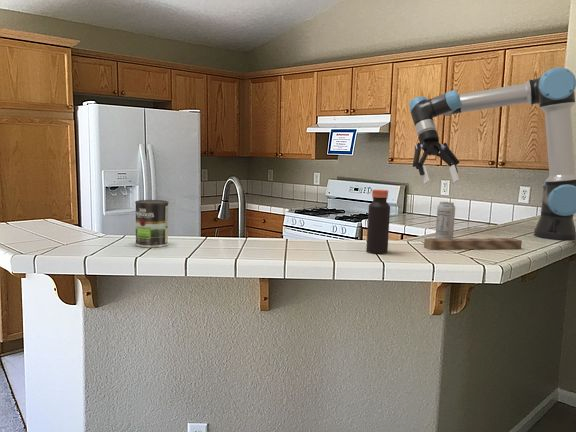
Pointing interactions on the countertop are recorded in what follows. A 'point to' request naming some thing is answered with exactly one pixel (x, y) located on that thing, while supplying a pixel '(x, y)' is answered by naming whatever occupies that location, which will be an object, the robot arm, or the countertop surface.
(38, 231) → the countertop surface
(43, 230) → the countertop surface
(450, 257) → the countertop surface
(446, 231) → the energy drink can
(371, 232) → the bottle
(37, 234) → the countertop surface
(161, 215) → the coffee can
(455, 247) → the walnut board
